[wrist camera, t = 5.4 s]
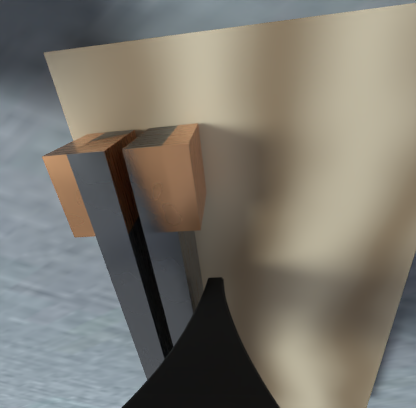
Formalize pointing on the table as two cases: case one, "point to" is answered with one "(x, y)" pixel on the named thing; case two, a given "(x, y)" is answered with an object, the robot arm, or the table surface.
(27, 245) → the table surface
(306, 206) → the board
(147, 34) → the table surface
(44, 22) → the table surface
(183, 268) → the arm
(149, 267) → the tongs fixed arm
